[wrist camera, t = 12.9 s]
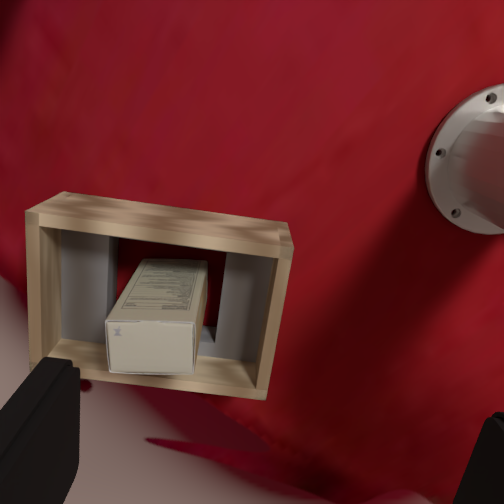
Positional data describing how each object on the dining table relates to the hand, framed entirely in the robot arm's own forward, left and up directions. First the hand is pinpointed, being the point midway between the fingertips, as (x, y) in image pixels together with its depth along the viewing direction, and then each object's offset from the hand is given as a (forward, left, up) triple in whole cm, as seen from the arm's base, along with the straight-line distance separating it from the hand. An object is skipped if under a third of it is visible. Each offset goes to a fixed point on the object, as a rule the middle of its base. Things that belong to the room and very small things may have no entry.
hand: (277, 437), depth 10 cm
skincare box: (+6, +10, -31) cm, 33 cm away
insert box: (+7, +10, -30) cm, 33 cm away
